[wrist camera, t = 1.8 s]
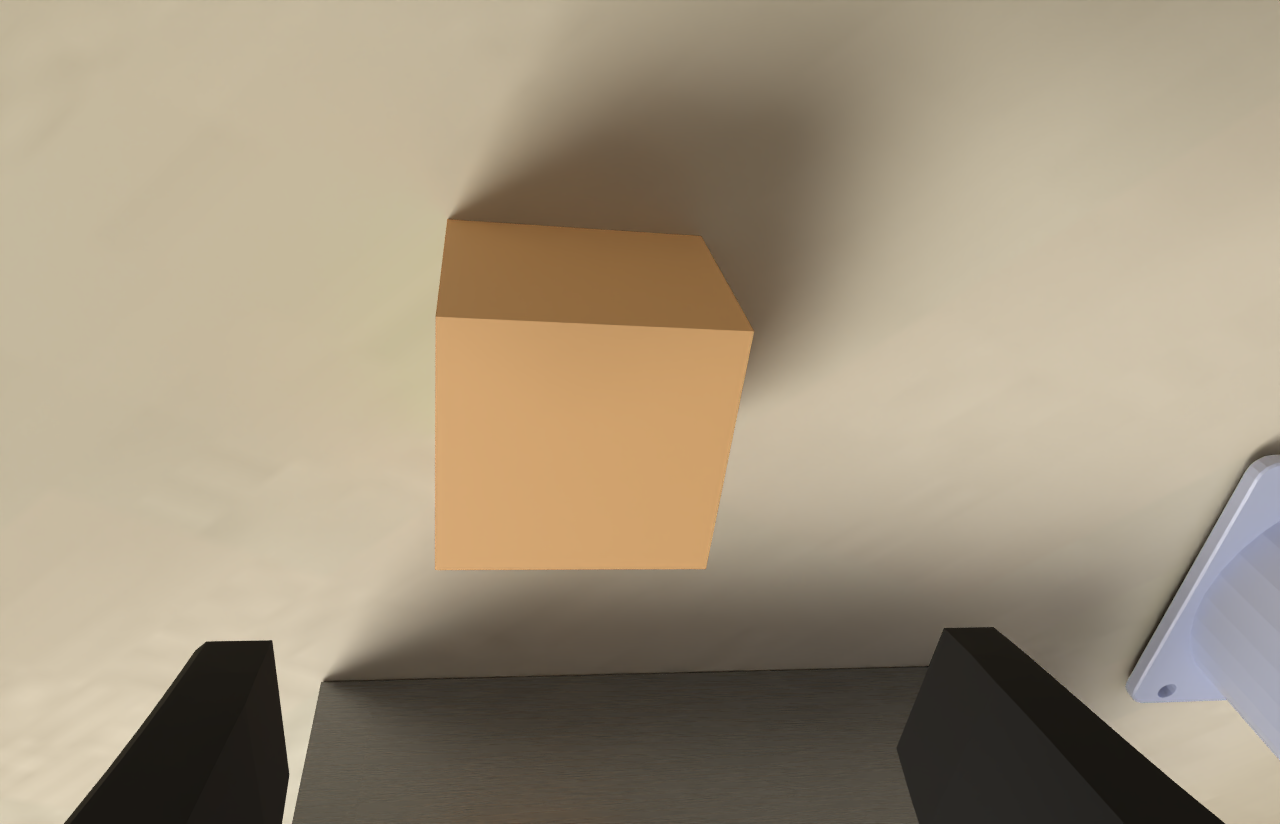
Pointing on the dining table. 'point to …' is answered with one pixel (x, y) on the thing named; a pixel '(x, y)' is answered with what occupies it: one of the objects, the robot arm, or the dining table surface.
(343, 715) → the grey box with hole
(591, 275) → the block
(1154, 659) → the robot arm
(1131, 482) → the dining table surface
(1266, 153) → the dining table surface
